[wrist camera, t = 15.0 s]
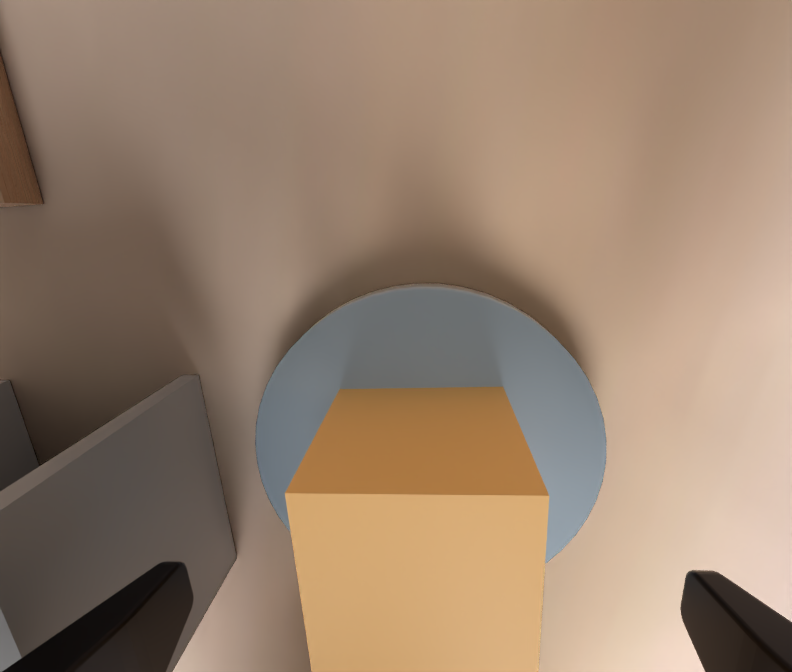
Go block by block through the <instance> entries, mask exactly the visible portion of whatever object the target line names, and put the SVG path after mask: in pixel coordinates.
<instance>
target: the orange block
mask: <svg viewBox="0 0 792 672" xmlns="http://www.w3.org/2000/svg"><path fill="white" fill-rule="evenodd" d="M285 498H286V505H287V511H288V518H289V525H290V531H291V538H292V545H293V551H294V558H295V565H296V571H297V578H298V585H299V591H300V598H301V605H302V611H303V618H304V625H305V631H306V638H307V645H308V651H309V658H310V665H311V671H312V672H538V669H539V653H540V637H541V621H542V605H543V589H544V573H545V557H546V541H547V526H548V510H549V494H548V491H547V489H546V487H545V484H544V482H543V480H542V477H541V475H540V473H539V470H538V468H537V465H536V463H535V461H534V458H533V456H532V454H531V451H530V449H529V447H528V444H527V442H526V439H525V437H524V435H523V432H522V430H521V428H520V425H519V423H518V421H517V418H516V416H515V414H514V411H513V409H512V406H511V404H510V402H509V399H508V397H507V395H506V392H505V390H504V388H503V387H443V388H377V389H339V391H338V393H337V395H336V397H335V399H334V401H333V402H332V404H331V406H330V408H329V410H328V412H327V414H326V416H325V418H324V420H323V422H322V423H321V425H320V427H319V429H318V431H317V433H316V435H315V437H314V439H313V441H312V442H311V444H310V446H309V448H308V450H307V452H306V454H305V456H304V458H303V460H302V462H301V463H300V465H299V467H298V469H297V471H296V473H295V475H294V477H293V479H292V481H291V483H290V484H289V486H288V488H287V490H286V492H285Z"/></svg>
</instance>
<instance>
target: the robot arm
mask: <svg viewBox="0 0 792 672" xmlns="http://www.w3.org/2000/svg"><path fill="white" fill-rule="evenodd" d="M193 601H194V594H193V589H192V585H191V581H190V577H189V573H188V570H187V566H186V565H185V563H184V562H181V561H164V562H161V563H159V564H157V565H156V566H154V567H153V568H151V569H150V570H148V571H147V572H145V573H144V574H143V575H141V576H140V577H138V578H137V579H135V580H134V581H132V582H131V583H130V584H128V585H127V586H125V587H124V588H122V589H121V590H119V591H118V592H117V593H115V594H114V595H112V596H111V597H109V598H108V599H106V600H105V601H103V602H102V603H101V604H99V605H98V606H96V607H95V608H93V609H92V610H90V611H89V612H88V613H86V614H85V615H83V616H82V617H80V618H79V619H77V620H76V621H74V622H73V623H72V624H70V625H69V626H67V627H66V628H64V629H63V630H61V631H60V632H59V633H57V634H56V635H54V636H53V637H51V638H50V639H48V640H47V641H45V642H44V643H43V644H41V645H40V646H38V647H37V648H35V649H34V650H32V651H31V652H30V653H28V654H27V655H25V656H24V657H22V658H21V659H19V660H18V661H16V662H15V663H14V664H12V665H11V666H9V667H8V668H6V669H5V670H3V671H2V672H166V671H167V669H168V666H169V664H170V661H171V659H172V656H173V654H174V652H175V649H176V647H177V644H178V642H179V639H180V637H181V634H182V632H183V629H184V627H185V624H186V622H187V619H188V617H189V615H190V612H191V609H192V606H193ZM681 615H682V619H683V622H684V625H685V627H686V629H687V632H688V634H689V636H690V638H691V641H692V643H693V645H694V647H695V650H696V652H697V654H698V657H699V659H700V661H701V663H702V666H703V668H704V670H705V672H792V622H791V621H789V620H788V619H786V618H785V617H783V616H782V615H780V614H779V613H777V612H776V611H774V610H773V609H772V608H770V607H769V606H767V605H766V604H764V603H763V602H761V601H760V600H758V599H757V598H755V597H754V596H752V595H751V594H749V593H748V592H746V591H745V590H743V589H742V588H741V587H739V586H738V585H736V584H735V583H733V582H732V581H730V580H729V579H727V578H726V577H724V576H723V575H721V574H720V573H718V572H715V571H703V570H692V571H689V572H688V573H687V574H686V578H685V584H684V590H683V595H682V601H681Z"/></svg>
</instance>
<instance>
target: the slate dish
mask: <svg viewBox="0 0 792 672" xmlns="http://www.w3.org/2000/svg"><path fill="white" fill-rule="evenodd" d="M443 387H503V388H504V390H505V392H506V395H507V397H508V399H509V402H510V404H511V406H512V409H513V411H514V414H515V416H516V418H517V421H518V423H519V425H520V428H521V430H522V432H523V435H524V437H525V439H526V442H527V444H528V447H529V449H530V451H531V454H532V456H533V458H534V461H535V463H536V465H537V468H538V470H539V473H540V475H541V477H542V480H543V482H544V484H545V487H546V489H547V491H548V494H549V510H548V526H547V541H546V557H545V563H547V562H548V561H549V560H550V559H552V558H553V557H554V556H555V555H556V554H558V553H559V552H560V551H561V550H562V549H563V548H564V547H565V546H566V545H567V544H568V543H569V542H570V540H571V539H572V538H573V537H574V536H575V535H576V534H577V532H578V531H579V529H580V528H581V526H582V525H583V524H584V522H585V521H586V519H587V518H588V516H589V514H590V512H591V510H592V508H593V506H594V504H595V502H596V499H597V496H598V493H599V490H600V487H601V484H602V481H603V476H604V470H605V464H606V434H605V427H604V420H603V416H602V413H601V409H600V406H599V403H598V400H597V397H596V395H595V393H594V391H593V389H592V387H591V384H590V382H589V380H588V378H587V377H586V375H585V374H584V372H583V371H582V369H581V368H580V366H579V365H578V363H577V362H576V360H575V359H574V358H573V357H572V356H571V354H570V353H569V352H568V351H567V350H566V349H565V348H564V347H563V346H562V345H561V344H560V343H559V341H558V340H557V339H556V338H555V337H554V336H553V335H551V334H550V333H549V332H548V331H547V330H546V329H545V328H544V327H543V326H542V325H540V324H539V323H538V322H537V321H535V320H534V319H533V318H532V317H531V316H529V315H528V314H526V313H525V312H523V311H521V310H520V309H518V308H516V307H515V306H513V305H511V304H510V303H508V302H506V301H503V300H501V299H499V298H496V297H494V296H492V295H490V294H487V293H484V292H480V291H477V290H473V289H470V288H466V287H461V286H454V285H447V284H434V283H415V284H407V285H398V286H392V287H388V288H384V289H380V290H376V291H372V292H370V293H367V294H365V295H362V296H360V297H357V298H355V299H352V300H350V301H348V302H347V303H345V304H343V305H341V306H340V307H338V308H336V309H334V310H333V311H331V312H330V313H329V314H327V315H326V316H325V317H323V318H322V319H321V320H319V321H318V322H317V323H316V324H314V325H313V326H312V327H311V328H310V329H309V330H308V331H307V332H306V333H305V334H304V335H303V336H302V337H301V338H300V339H299V340H298V341H297V342H296V343H295V344H294V345H293V346H292V347H291V348H290V349H289V350H288V352H287V353H286V354H285V356H284V357H283V358H282V360H281V361H280V363H279V364H278V365H277V367H276V368H275V370H274V372H273V374H272V376H271V378H270V380H269V382H268V384H267V386H266V388H265V391H264V394H263V397H262V400H261V403H260V406H259V412H258V417H257V422H256V440H255V445H256V455H257V464H258V468H259V472H260V476H261V480H262V483H263V486H264V488H265V491H266V493H267V496H268V498H269V500H270V502H271V504H272V506H273V508H274V509H275V511H276V513H277V515H278V516H279V518H280V519H281V521H282V522H283V523H284V525H285V526H286V527H287V529H288V530H289V531H290V525H289V518H288V511H287V505H286V498H285V492H286V490H287V488H288V486H289V484H290V483H291V481H292V479H293V477H294V475H295V473H296V471H297V469H298V467H299V465H300V463H301V462H302V460H303V458H304V456H305V454H306V452H307V450H308V448H309V446H310V444H311V442H312V441H313V439H314V437H315V435H316V433H317V431H318V429H319V427H320V425H321V423H322V422H323V420H324V418H325V416H326V414H327V412H328V410H329V408H330V406H331V404H332V402H333V401H334V399H335V397H336V395H337V393H338V391H339V389H377V388H443ZM290 533H291V531H290Z"/></svg>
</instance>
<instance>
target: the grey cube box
mask: <svg viewBox="0 0 792 672" xmlns="http://www.w3.org/2000/svg"><path fill="white" fill-rule="evenodd" d="M236 558H237V556H236V552H235V547H234V542H233V537H232V533H231V528H230V523H229V518H228V513H227V509H226V504H225V499H224V494H223V489H222V485H221V480H220V475H219V470H218V465H217V461H216V456H215V451H214V446H213V442H212V437H211V432H210V427H209V422H208V418H207V413H206V408H205V403H204V398H203V394H202V389H201V384H200V379H199V375H181V376H180V377H178V378H177V379H175V380H174V381H172V382H171V383H169V384H167V385H166V386H164V387H163V388H161V389H160V390H158V391H156V392H155V393H153V394H152V395H150V396H149V397H147V398H146V399H144V400H142V401H141V402H139V403H138V404H136V405H135V406H133V407H131V408H130V409H128V410H127V411H125V412H124V413H122V414H121V415H119V416H117V417H116V418H114V419H113V420H111V421H110V422H108V423H106V424H105V425H103V426H102V427H100V428H99V429H97V430H96V431H94V432H92V433H91V434H89V435H88V436H86V437H85V438H83V439H82V440H80V441H78V442H77V443H75V444H74V445H72V446H71V447H69V448H67V449H66V450H64V451H63V452H61V453H60V454H58V455H57V456H55V457H53V458H52V459H50V460H49V461H47V462H46V463H44V464H42V465H41V466H39V464H38V461H37V458H36V455H35V452H34V449H33V446H32V444H31V441H30V438H29V435H28V432H27V429H26V426H25V423H24V421H23V418H22V415H21V412H20V409H19V406H18V403H17V400H16V398H15V395H14V392H13V389H12V386H11V383H10V380H0V672H2V671H3V670H5V669H6V668H8V667H9V666H11V665H12V664H14V663H15V662H16V661H18V660H19V659H21V658H22V657H24V656H25V655H27V654H28V653H30V652H31V651H32V650H34V649H35V648H37V647H38V646H40V645H41V644H43V643H44V642H45V641H47V640H48V639H50V638H51V637H53V636H54V635H56V634H57V633H59V632H60V631H61V630H63V629H64V628H66V627H67V626H69V625H70V624H72V623H73V622H74V621H76V620H77V619H79V618H80V617H82V616H83V615H85V614H86V613H88V612H89V611H90V610H92V609H93V608H95V607H96V606H98V605H99V604H101V603H102V602H103V601H105V600H106V599H108V598H109V597H111V596H112V595H114V594H115V593H117V592H118V591H119V590H121V589H122V588H124V587H125V586H127V585H128V584H130V583H131V582H132V581H134V580H135V579H137V578H138V577H140V576H141V575H143V574H144V573H145V572H147V571H148V570H150V569H151V568H153V567H154V566H156V565H157V564H159V563H161V562H164V561H181V562H184V563H185V565H186V566H187V570H188V573H189V577H190V581H191V585H192V589H193V594H194V601H193V606H192V609H191V612H190V615H189V617H188V619H187V622H186V624H185V627H184V629H183V632H182V634H181V637H180V639H179V642H178V644H177V647H176V649H175V652H174V654H173V656H172V659H171V661H170V664H169V666H168V669H167V671H166V672H172V671H173V670H174V668H175V666H176V664H177V663H178V661H179V659H180V657H181V656H182V654H183V652H184V650H185V649H186V647H187V645H188V643H189V641H190V640H191V638H192V636H193V634H194V633H195V631H196V629H197V627H198V626H199V624H200V622H201V620H202V619H203V617H204V615H205V613H206V611H207V610H208V608H209V606H210V604H211V603H212V601H213V599H214V597H215V596H216V594H217V592H218V590H219V588H220V587H221V585H222V583H223V581H224V580H225V578H226V576H227V574H228V573H229V571H230V569H231V567H232V566H233V564H234V562H235V560H236Z"/></svg>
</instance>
